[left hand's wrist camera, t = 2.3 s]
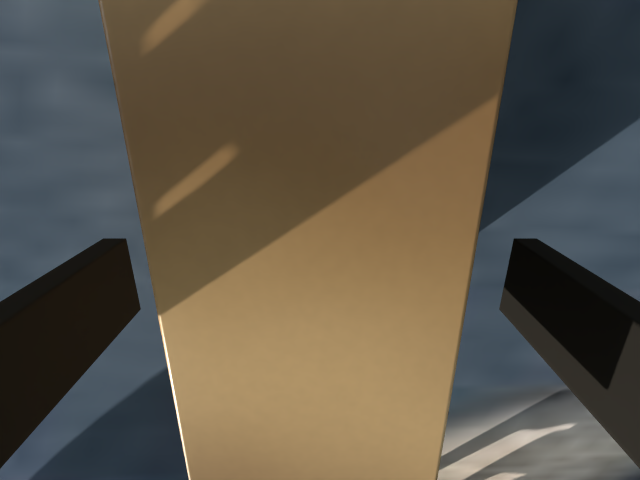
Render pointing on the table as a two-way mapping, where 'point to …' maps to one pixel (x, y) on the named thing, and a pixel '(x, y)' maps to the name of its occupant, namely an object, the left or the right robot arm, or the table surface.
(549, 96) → the table surface
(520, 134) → the table surface
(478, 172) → the long box
